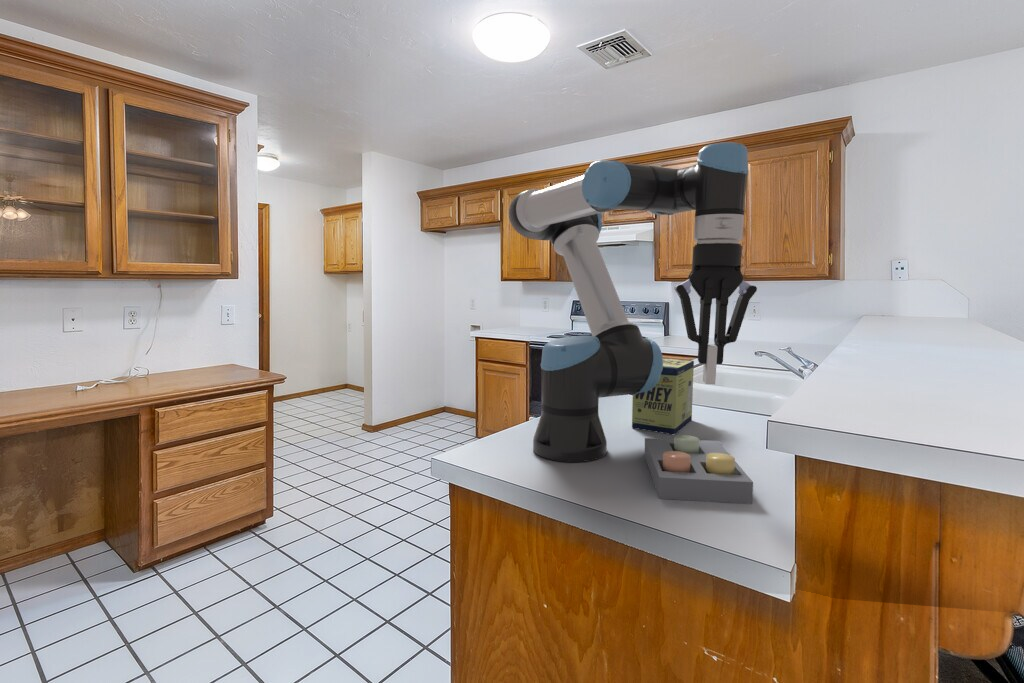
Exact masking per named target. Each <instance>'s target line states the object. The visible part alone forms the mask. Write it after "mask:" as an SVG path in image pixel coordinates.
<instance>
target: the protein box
mask: <svg viewBox="0 0 1024 683" xmlns="http://www.w3.org/2000/svg"><path fill="white" fill-rule="evenodd" d="M694 364H695V361H694V360H691V359H680V358H679V359H676V358H666V357H663V370H662V372H661V377H660V379H659V381H658V383H657V384H656V386H655V387H654V388H652V389H651V390H649V391H647V392H642V393H638V394H634V395H632V405H631V406H632V408H631V409H632V410H631V411H632V413H631V418H632V419H631V428H632V427H633V428H632V429H635V428H639V429H638V430H642V429H645V430H644V431H648V430H651V431H650V432H654V431H657V432H656V433H660V432H663V433H662V434H666V433H669V434H668V435H672V434H675V435H676V434H677V433H679V432H680V431H681V430H682V429H684V428H685V427H686V426H687V425H688V424H690V422H691V421H692V420H693V418H692V417H693V395H694V394H693V391H694V388H693V386H694V370H695V369H694V368H695V367H694Z"/></svg>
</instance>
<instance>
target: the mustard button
mask: <svg viewBox="0 0 1024 683" xmlns="http://www.w3.org/2000/svg"><path fill="white" fill-rule="evenodd" d="M735 461H736V458H735V457H734V456H732V455H731V454H730V455H728V454H723V453H709V454H707V455H706V473H708V474H729V475H734V470H735Z"/></svg>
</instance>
